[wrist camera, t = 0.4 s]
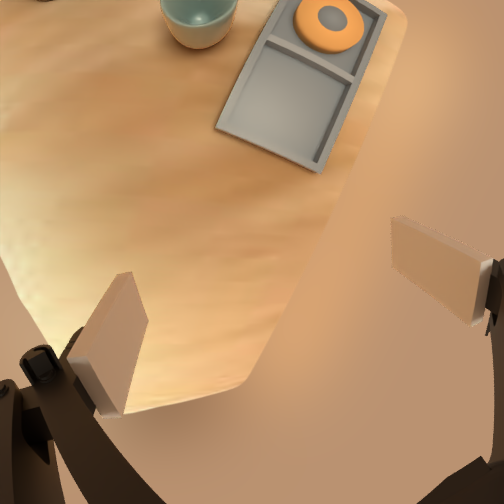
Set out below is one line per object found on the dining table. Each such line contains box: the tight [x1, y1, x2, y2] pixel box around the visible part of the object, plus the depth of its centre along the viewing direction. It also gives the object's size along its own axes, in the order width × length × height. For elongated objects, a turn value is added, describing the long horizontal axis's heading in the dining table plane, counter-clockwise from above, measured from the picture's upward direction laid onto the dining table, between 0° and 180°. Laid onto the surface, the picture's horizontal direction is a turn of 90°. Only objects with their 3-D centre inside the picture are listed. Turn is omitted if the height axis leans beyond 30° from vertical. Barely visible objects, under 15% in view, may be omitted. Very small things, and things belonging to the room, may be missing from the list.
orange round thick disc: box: [293, 0, 364, 54], centre depth 31 cm, size 9×9×3 cm
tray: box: [215, 0, 387, 174], centre depth 34 cm, size 27×14×2 cm, turn 156°
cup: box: [160, 0, 238, 49], centre depth 27 cm, size 8×8×10 cm
